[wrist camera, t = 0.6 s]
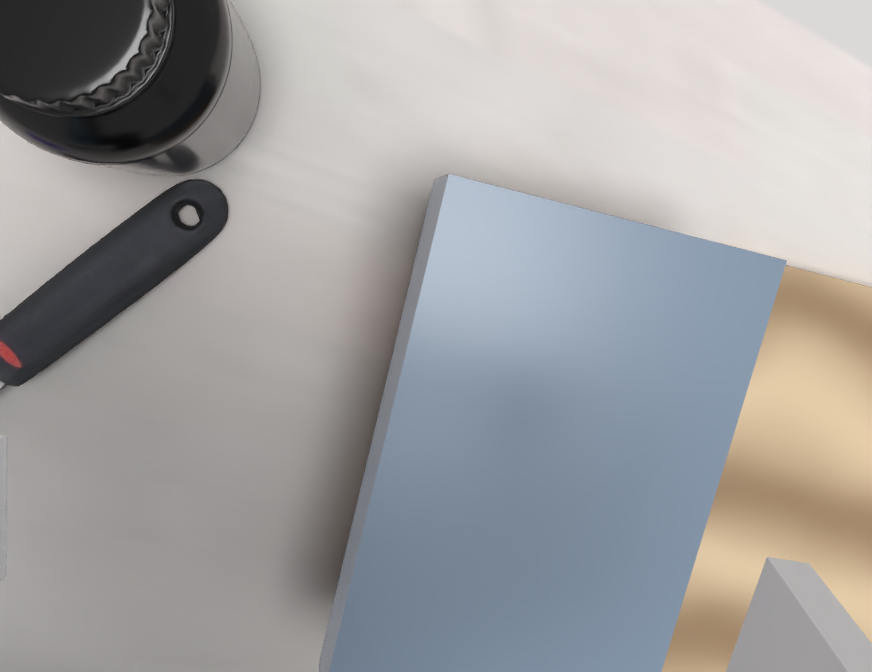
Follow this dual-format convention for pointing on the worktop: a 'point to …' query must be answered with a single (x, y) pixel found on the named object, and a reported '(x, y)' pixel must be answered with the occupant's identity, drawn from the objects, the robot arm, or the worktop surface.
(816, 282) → the oak cutting board
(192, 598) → the worktop surface
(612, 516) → the slate lid
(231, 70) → the supplement bottle
